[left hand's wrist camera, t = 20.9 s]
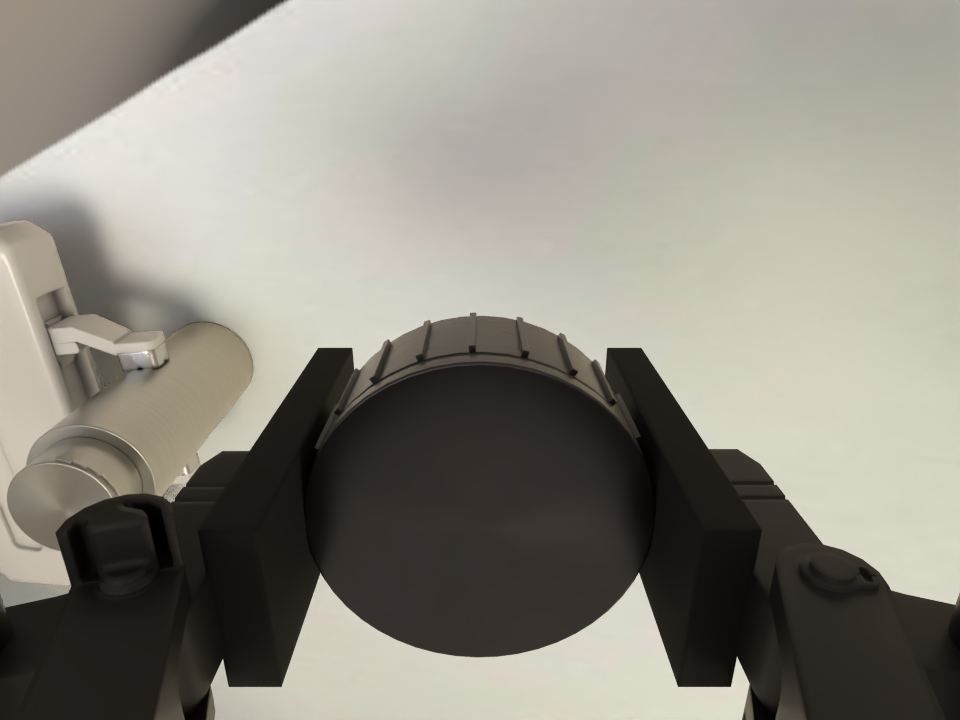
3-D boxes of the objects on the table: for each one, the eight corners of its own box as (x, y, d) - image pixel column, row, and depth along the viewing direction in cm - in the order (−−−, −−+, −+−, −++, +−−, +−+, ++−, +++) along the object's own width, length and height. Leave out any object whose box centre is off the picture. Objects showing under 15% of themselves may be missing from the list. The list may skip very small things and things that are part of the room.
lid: (452, 244, 11) (445, 278, 9) (691, 433, 12) (736, 502, 10) (272, 472, 13) (230, 547, 10) (501, 616, 14) (505, 708, 12)
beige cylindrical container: (249, 408, 41) (131, 573, 26) (163, 393, 40) (-5, 552, 26) (256, 331, 39) (133, 464, 24) (166, 314, 38) (-13, 439, 24)
